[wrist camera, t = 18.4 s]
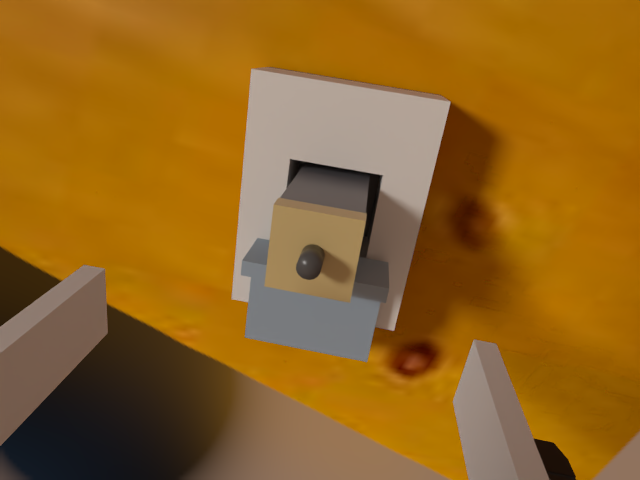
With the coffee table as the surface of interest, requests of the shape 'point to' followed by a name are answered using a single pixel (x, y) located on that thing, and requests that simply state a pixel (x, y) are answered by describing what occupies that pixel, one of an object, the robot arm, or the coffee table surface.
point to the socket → (341, 160)
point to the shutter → (315, 310)
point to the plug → (318, 232)
